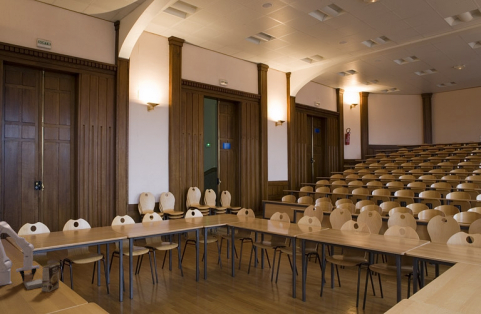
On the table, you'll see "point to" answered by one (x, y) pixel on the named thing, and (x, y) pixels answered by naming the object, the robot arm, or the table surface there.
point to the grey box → (33, 284)
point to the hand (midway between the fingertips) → (27, 280)
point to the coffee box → (50, 277)
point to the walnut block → (27, 277)
